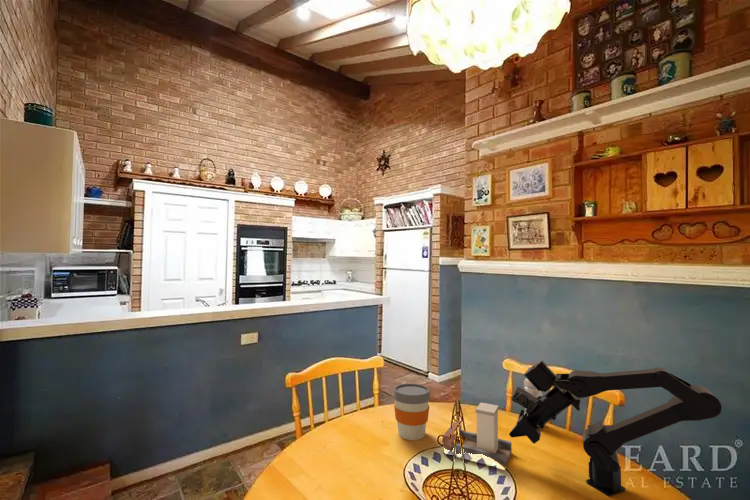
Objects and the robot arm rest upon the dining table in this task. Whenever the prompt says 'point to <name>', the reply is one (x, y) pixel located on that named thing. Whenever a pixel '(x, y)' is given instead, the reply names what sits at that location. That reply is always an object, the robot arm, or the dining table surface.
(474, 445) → the track
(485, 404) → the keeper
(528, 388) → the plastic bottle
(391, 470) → the dining table surface
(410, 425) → the reusable coffee cup
